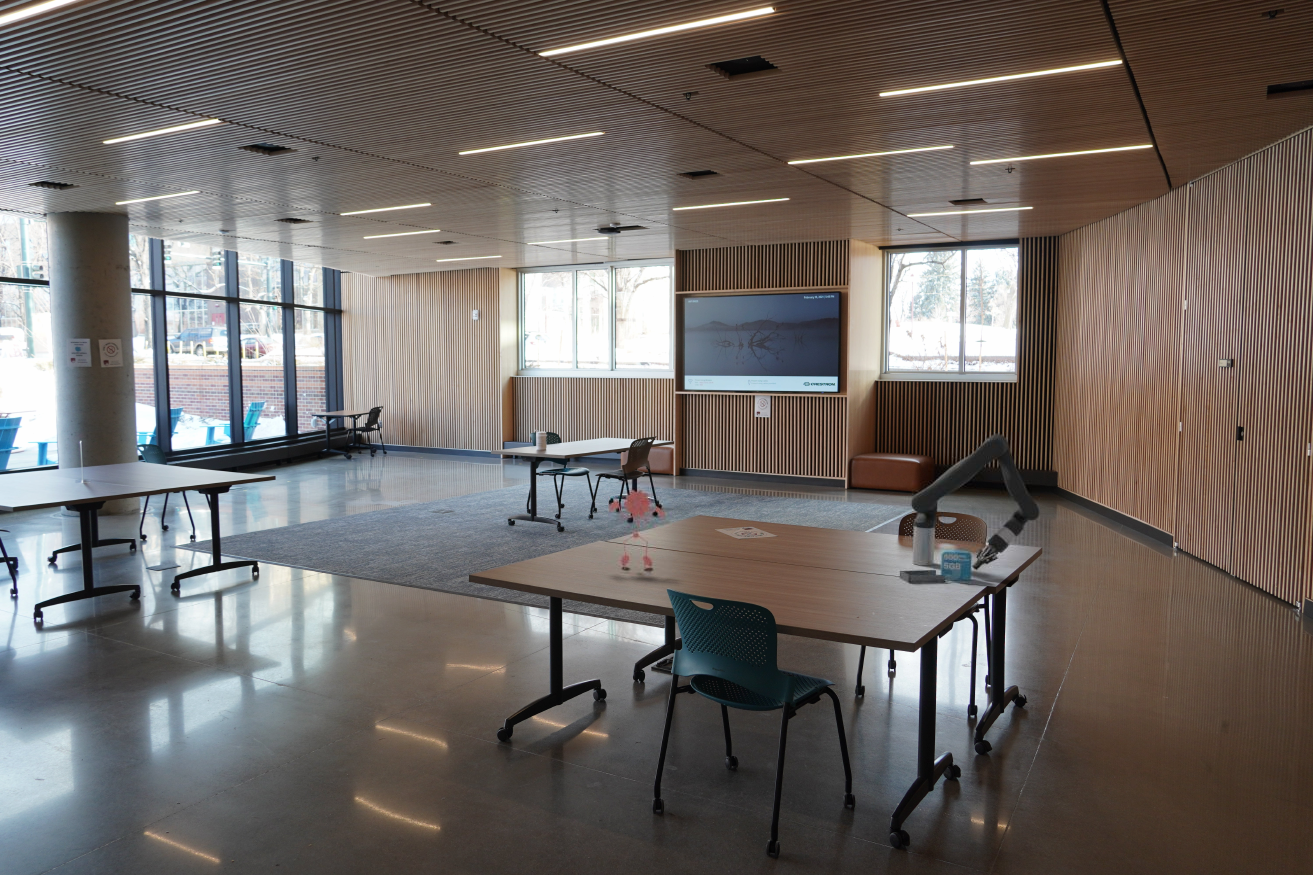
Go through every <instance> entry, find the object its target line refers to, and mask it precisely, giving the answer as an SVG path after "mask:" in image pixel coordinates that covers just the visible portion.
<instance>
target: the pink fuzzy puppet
mask: <svg viewBox="0 0 1313 875" xmlns="http://www.w3.org/2000/svg"><path fill="white" fill-rule="evenodd" d="M648 497H649V493H648V492H643V490H642V489H639V490H637V491H635V490H633V489H632V490H630V492H629V494H626V496H625V499H626V501H624V502H623V506H624V507H626V513H627V514H631V515H627V516H623V514H622V511H621V507H620V502H619V500H616V501H615V500H614V501H613V502H611V503H610V504H609V509H608V510H609V512H612V511H615V510H616V509H619V510H618V511H619V514H620V517H621V519H627V518H634V519H635V520H637V526H636V529H635V532H633V533H632V536H629V537H628V538H627V539H625V540H623V548H624V555H623V556H622V557H621V559H620V563H619V565H620V564H621V565H622V566H623V567H624V568H623V569H624V570H626V566H627V564H629V561H630V556H629V555H628V554H626V551H627V550H626V546H625V545H626V544H625V542H627V541H628V540H630V539H632V538H634V539H638V538H640V539H641V540H643V541H644V542H646V546H645V547H646V548H645V555H643V556H642V560H643V563H644V566H643V570H644V571H646V565H647V566H648V567H651V568H652V566H653V561H652V559H651V558H650V557H649V555H647V553H648V543H649V542H648V541H647V540H646V539H645V538H643V537H641V536H640V535H639V533H638V532H637V531H638V529H639V525H640V520H641V521H644V522H647V521H648V519H649V518H650V517H651V515H652V514H653V513H654V512H655V511H656V513H657V514H658V515H660V516H661V517H662V518H665V517H666V516H665V514H666V513H665V512H664V511H663V510H662V508H660V507H658V506H654V507H655V508H653V510H652V511H651V507H650V505H652V501H651V500H650V498H648ZM650 511H651V512H650ZM646 512H650V513H649V515H648V516H647V518H646V519H645V518H644V517H645V515H646ZM638 516H640V517H638ZM642 517H643V518H642ZM637 564H641V562H640V561H637ZM658 570H659V569H657V571H658Z"/></svg>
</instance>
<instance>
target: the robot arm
mask: <svg viewBox="0 0 1313 875" xmlns="http://www.w3.org/2000/svg"><path fill="white" fill-rule="evenodd" d="M995 460H997V462H998V464H999V467H1000V469H1001V472H1002V476H1003V481H1004V484H1005V487H1006V489H1007V491H1008V493H1009V495H1010V497H1011V499H1012V500H1013V502H1015V503H1016V504H1017V505H1018V507H1017V508H1016V510H1015V511H1014V512H1013V514H1012V515H1011V517H1010V518H1009V519H1008V520H1007V522H1004V524H1003V526H1001V527H1000V528H999V529H998V530H997V531H996V532H995V533H994V534H993V535H992V536H990V538H989V539H988V540H987V543H988V544H987V545H986V546H985V547H984V548H978V551H977V554H976V559H977V560H976V561H975V562H974V563H973V564H971V568H973V569H974V570H976V571H978V570H979V569H980V567H981V566H983V565H988V564H990V563H992V562H994V561H996V560H997V559H999V557H998V556H997V555H998V554H999V553H1000V554H1001V553H1003V552H1004V551H1005V550H1006V549H1008V547H1009V546H1010V545H1011V544H1012V543H1014V540H1016V538H1017V537H1018V536H1019V535H1020V534H1021V533H1022V531H1023V530H1024V526H1025V525H1026V523H1027V522H1028V521H1035V520H1037V519H1038V518H1039V516H1040V508H1039V507H1038V504H1037V503H1036V502H1035V500H1034V498H1032V496H1031V495H1030V493H1029V492H1028V489H1027V487H1026V485H1025V483H1024V481H1023V478H1022V477H1021V475H1020V473H1019V470H1018V468H1017V466H1016V463H1015V461H1014V458H1013V455H1012V451H1011V448H1010V445H1009V443H1008V439H1007V438H1006V437H1005V436H1004V435H1002V434H1000V433H999V434H998V433H995V434H992V435H990V436H989V437H988V438H986V439H985V440H984V442H982V444H980V446H979V447H978V448H977V449H975V450H974V452H972V453H971V454H969V455H968V456H966V457H965V458H963V459H961V460H960V461H959V460H958V462H956V463H955V464H954V465H952V466H951V467H950V468H948V469H947V470H946V471H945V472H943V474H942V475H940V476H939V477H938V478H937V479H935V481H933V483H932V484H930V485H928V486H927V487H926V488H924V489H922V490H921V491H919V492H917V493H916V494H915V495H914V496H913V497H912V498H911V504H910V505H911V508H912V509H913V510H914V511H915V512H916V513H917V515H916V517H915V519H914V520H913V539H912V540H913V542H912V543H913V545H912V546H913V547H912V563H913V564H914V565H918V566H933V565H934V564H935V562H934V561H935V533H936V532H935V531H936V530H935V526H936V522H937V519H938V518H937V517H938V501H939V500H940V499H941V498H943V497H945V496H946V495H949V494H951V493H952V492H954V491H956V490H958V489H959V488H961V487H962V486H964V485H965V484H966V483H968V482H969V481H970V480H972V479H973V477H975V475H977V474H978V472H979V471H981V470H982V469H983V468H984V467H985V466H987V465H988V464H989V463H991V462H993V461H995Z"/></svg>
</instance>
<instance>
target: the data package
mask: <svg viewBox="0 0 1313 875" xmlns="http://www.w3.org/2000/svg"><path fill="white" fill-rule="evenodd" d="M940 575H945V580H946V579H948V580H949V581H964V580H967V581H970V580H971V578H972V554H971V552H970V551H968V550H956V549H955V550H953V549H943V550H942V551H941V554H940Z"/></svg>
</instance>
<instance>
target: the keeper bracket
mask: <svg viewBox="0 0 1313 875" xmlns="http://www.w3.org/2000/svg"><path fill="white" fill-rule="evenodd" d="M899 579H901V580H903V581H904V580H905V582H906V581H907V583H908V582H909V583H908V584H915V583H914V582H929V583H946V579H945V575H941V574H937V570H936V569H922V570H921V569H920V570H899Z"/></svg>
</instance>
